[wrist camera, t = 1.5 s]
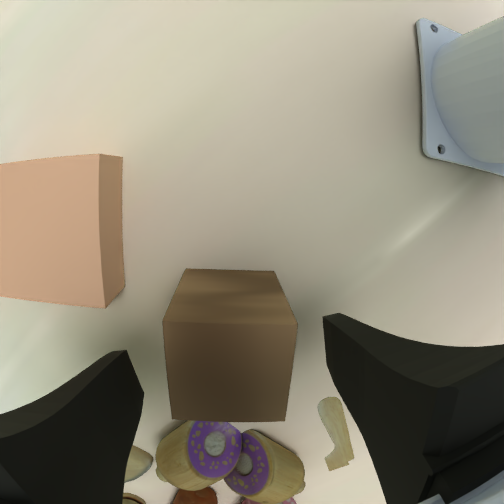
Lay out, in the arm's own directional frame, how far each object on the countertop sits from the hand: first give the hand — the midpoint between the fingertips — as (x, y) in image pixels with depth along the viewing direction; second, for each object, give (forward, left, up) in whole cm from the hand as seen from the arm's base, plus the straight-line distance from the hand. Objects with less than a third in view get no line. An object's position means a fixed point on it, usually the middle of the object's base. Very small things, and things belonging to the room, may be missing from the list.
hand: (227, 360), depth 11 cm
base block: (+8, -4, -5) cm, 10 cm away
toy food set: (+3, +15, -5) cm, 17 cm away
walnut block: (0, 0, -4) cm, 4 cm away
